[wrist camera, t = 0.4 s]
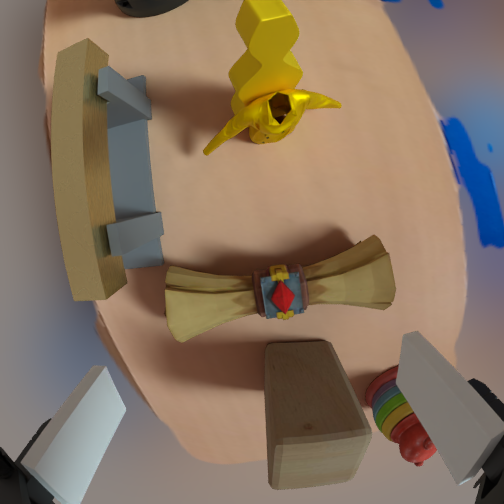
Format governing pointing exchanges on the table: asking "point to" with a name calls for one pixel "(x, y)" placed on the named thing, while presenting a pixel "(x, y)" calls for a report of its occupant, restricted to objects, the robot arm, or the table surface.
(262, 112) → the figure statuette
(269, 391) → the wooden block
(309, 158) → the table surface
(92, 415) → the robot arm
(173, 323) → the scroll
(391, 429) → the stacking bear
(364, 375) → the table surface
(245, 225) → the table surface
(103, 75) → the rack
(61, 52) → the rail
